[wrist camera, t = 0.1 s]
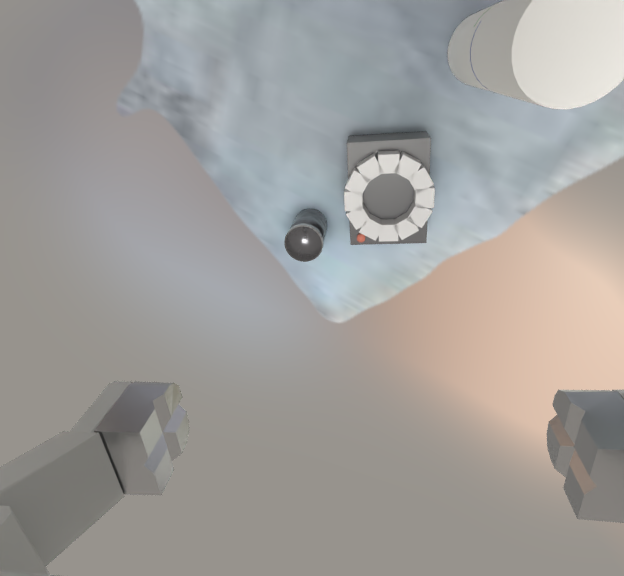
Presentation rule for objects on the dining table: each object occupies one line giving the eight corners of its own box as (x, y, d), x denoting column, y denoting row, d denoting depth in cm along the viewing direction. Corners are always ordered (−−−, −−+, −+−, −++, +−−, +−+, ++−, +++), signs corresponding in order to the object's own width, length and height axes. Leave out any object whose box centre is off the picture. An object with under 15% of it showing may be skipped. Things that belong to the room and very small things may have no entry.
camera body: (345, 136, 53) (341, 146, 47) (429, 131, 51) (437, 140, 45) (349, 230, 58) (346, 251, 52) (425, 228, 57) (431, 249, 51)
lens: (292, 208, 58) (282, 226, 52) (326, 207, 57) (321, 225, 51) (295, 241, 60) (286, 262, 54) (328, 240, 59) (323, 261, 53)
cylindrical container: (436, 74, 49) (489, 87, 27) (465, 0, 45) (553, -54, 23) (497, 94, 49) (599, 125, 27) (530, 22, 45) (678, -10, 23)
